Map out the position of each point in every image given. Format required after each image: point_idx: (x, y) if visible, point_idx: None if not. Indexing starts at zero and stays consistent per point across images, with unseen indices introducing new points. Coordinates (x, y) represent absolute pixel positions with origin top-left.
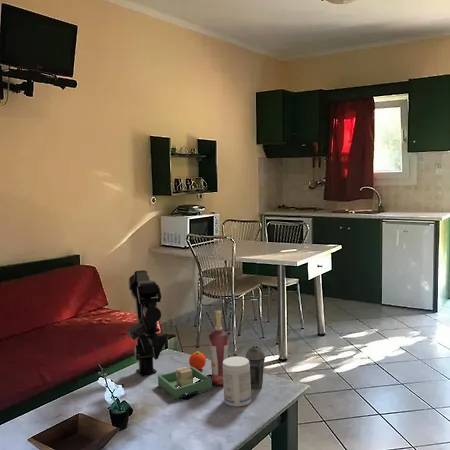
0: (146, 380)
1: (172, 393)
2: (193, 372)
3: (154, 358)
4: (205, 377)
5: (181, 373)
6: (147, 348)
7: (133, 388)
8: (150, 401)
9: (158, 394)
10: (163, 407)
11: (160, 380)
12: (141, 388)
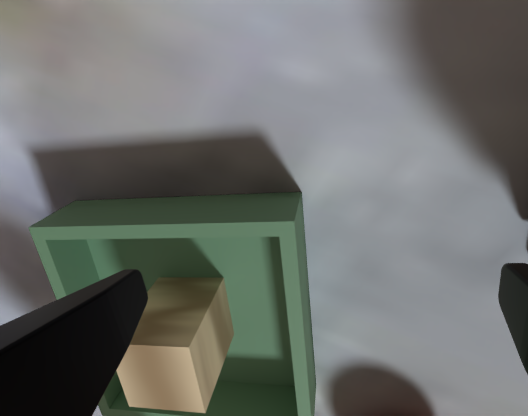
0: (444, 152)
1: (90, 209)
2: (287, 404)
3: (126, 272)
4: (145, 409)
5: None
6: (525, 348)
7: (358, 12)
8: (97, 68)
9: (176, 146)
10: (6, 113)
11: (253, 212)
12: (322, 73)
